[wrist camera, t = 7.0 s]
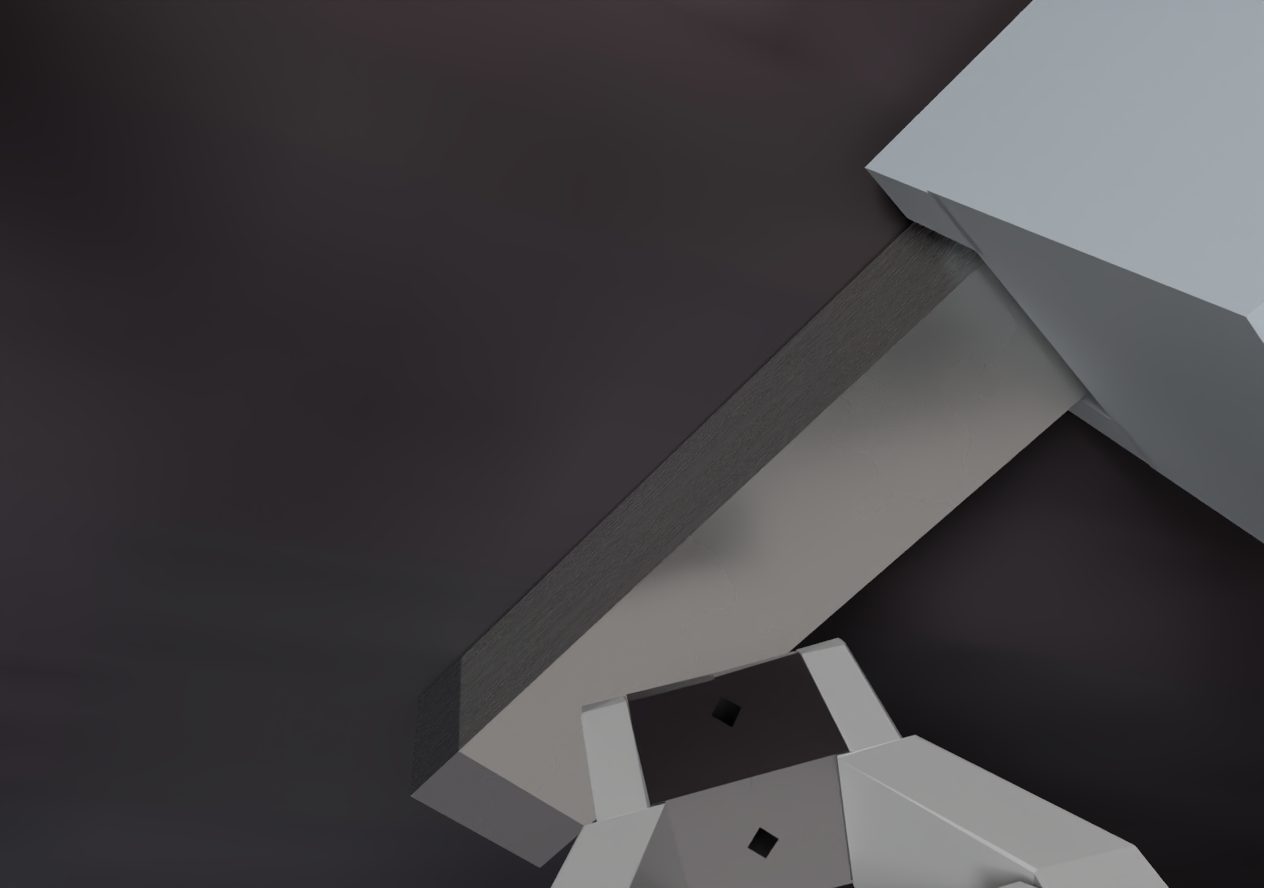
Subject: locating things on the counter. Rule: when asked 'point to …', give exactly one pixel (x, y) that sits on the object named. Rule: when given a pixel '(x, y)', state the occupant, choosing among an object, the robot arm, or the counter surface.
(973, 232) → the block
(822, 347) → the rail
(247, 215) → the counter surface
